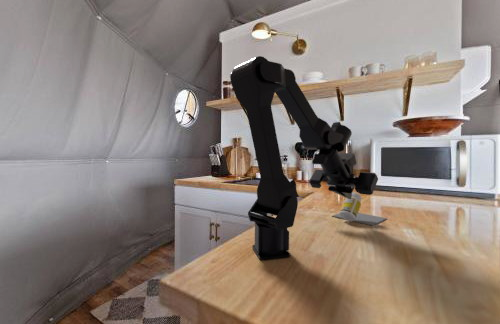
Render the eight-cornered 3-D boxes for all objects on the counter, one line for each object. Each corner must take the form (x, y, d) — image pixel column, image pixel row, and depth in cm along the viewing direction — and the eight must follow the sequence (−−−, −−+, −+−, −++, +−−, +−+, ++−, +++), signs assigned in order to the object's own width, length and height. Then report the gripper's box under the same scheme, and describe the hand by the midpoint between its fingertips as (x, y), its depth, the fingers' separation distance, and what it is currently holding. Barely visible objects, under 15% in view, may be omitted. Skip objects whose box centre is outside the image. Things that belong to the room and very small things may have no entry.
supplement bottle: (350, 223, 72) (358, 202, 77) (358, 218, 68) (366, 197, 73) (336, 215, 74) (345, 195, 78) (342, 210, 70) (351, 189, 74)
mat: (372, 225, 68) (372, 224, 68) (332, 216, 78) (332, 215, 78) (386, 219, 75) (386, 218, 75) (347, 211, 85) (347, 210, 85)
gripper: (376, 142, 61) (390, 180, 68) (314, 144, 75) (332, 176, 82) (362, 174, 56) (379, 211, 63) (299, 170, 70) (319, 200, 78)
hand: (350, 197), depth 72 cm, fingers closed
